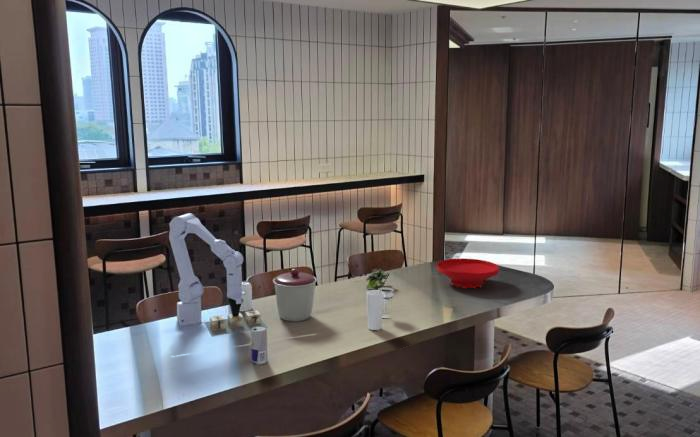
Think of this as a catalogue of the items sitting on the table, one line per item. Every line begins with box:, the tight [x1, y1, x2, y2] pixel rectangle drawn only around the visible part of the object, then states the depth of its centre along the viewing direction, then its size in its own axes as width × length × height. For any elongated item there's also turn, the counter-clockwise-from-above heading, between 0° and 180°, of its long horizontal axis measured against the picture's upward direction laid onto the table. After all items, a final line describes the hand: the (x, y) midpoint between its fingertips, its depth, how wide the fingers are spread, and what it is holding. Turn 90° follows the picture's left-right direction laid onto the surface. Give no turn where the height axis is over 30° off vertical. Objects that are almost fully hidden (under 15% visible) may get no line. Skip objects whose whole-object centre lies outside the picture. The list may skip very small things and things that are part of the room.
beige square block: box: [209, 314, 226, 331], centre depth 221 cm, size 5×5×4 cm
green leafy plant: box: [365, 268, 390, 290], centre depth 276 cm, size 11×11×12 cm
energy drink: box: [250, 326, 268, 366], centre depth 191 cm, size 5×5×12 cm
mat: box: [203, 316, 269, 337], centre depth 225 cm, size 22×16×1 cm
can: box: [239, 280, 253, 312], centre depth 243 cm, size 6×6×12 cm
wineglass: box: [377, 286, 395, 319], centre depth 235 cm, size 7×7×12 cm
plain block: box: [227, 312, 244, 328], centre depth 224 cm, size 5×5×4 cm
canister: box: [272, 268, 318, 323], centre depth 233 cm, size 18×18×21 cm
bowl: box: [436, 258, 500, 289], centre depth 283 cm, size 30×30×10 cm
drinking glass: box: [365, 289, 385, 331], centre depth 222 cm, size 7×7×15 cm
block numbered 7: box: [244, 310, 262, 326], centre depth 227 cm, size 5×5×4 cm
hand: (235, 315), depth 224 cm, fingers closed, pressing on plain block
